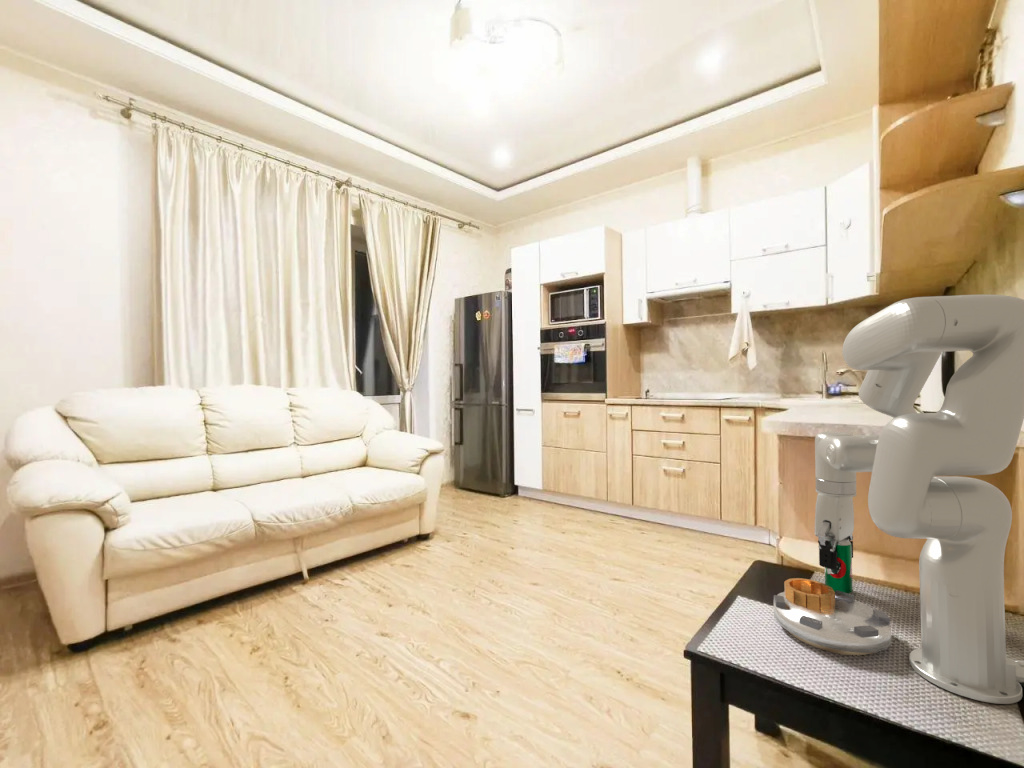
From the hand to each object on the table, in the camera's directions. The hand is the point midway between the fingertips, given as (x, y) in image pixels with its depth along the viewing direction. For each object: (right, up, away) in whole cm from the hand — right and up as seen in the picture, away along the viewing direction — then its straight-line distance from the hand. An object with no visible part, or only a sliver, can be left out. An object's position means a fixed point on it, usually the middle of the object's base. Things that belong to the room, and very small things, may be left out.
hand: (836, 562), depth 103 cm
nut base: (-14, -6, -17) cm, 23 cm away
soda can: (0, -6, -1) cm, 6 cm away
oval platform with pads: (-14, -5, -17) cm, 23 cm away
